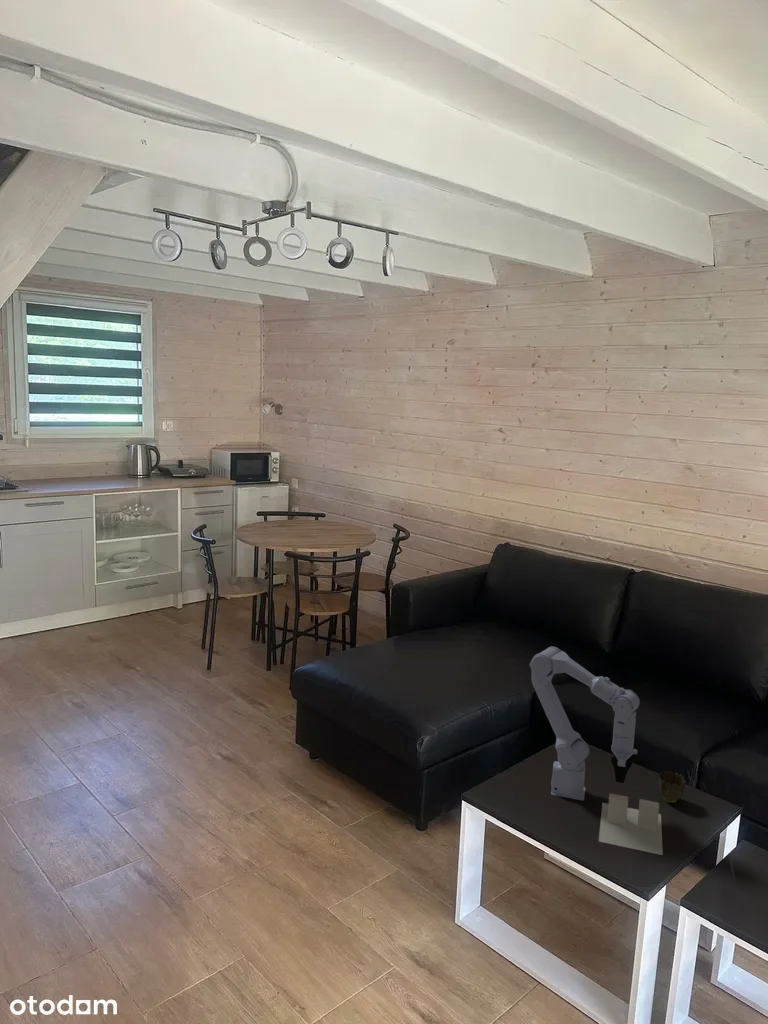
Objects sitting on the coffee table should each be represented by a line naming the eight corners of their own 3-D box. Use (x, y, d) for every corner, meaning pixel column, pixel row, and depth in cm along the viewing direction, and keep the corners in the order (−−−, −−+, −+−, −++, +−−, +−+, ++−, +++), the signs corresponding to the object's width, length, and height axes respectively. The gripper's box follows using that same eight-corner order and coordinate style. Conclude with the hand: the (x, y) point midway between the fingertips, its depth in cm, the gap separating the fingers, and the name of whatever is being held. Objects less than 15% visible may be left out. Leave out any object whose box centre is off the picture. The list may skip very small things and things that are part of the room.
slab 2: (637, 827, 199) (639, 804, 198) (637, 821, 202) (639, 798, 201) (656, 831, 197) (659, 808, 196) (656, 825, 200) (658, 802, 199)
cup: (685, 810, 209) (688, 784, 208) (658, 807, 210) (661, 781, 209) (680, 796, 216) (683, 772, 215) (654, 793, 218) (657, 768, 216)
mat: (598, 843, 192) (598, 841, 192) (602, 804, 211) (602, 802, 211) (662, 857, 187) (662, 855, 187) (660, 816, 206) (660, 814, 206)
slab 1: (607, 821, 201) (609, 798, 200) (607, 815, 204) (609, 792, 203) (626, 825, 200) (628, 801, 199) (626, 819, 203) (628, 796, 202)
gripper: (638, 747, 196) (634, 793, 199) (638, 725, 210) (635, 769, 212) (611, 743, 199) (607, 788, 201) (613, 721, 212) (609, 764, 214)
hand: (620, 778), depth 207 cm, fingers open, 4 cm apart
